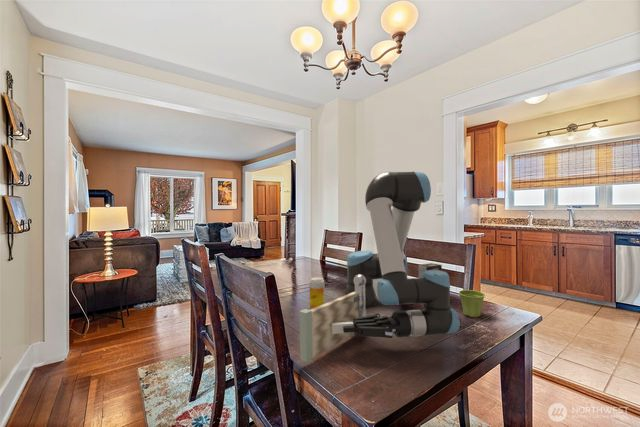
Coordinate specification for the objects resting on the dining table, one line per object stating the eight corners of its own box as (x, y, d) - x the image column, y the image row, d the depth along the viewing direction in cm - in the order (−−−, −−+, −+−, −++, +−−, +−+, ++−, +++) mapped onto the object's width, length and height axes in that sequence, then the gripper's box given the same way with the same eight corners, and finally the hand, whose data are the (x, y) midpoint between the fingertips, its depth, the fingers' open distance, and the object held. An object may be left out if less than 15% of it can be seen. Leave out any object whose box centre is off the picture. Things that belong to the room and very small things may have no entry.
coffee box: (428, 301, 131) (428, 266, 130) (418, 298, 137) (417, 264, 136) (442, 298, 135) (442, 264, 135) (431, 295, 141) (431, 262, 140)
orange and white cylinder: (309, 312, 120) (309, 277, 120) (324, 311, 121) (323, 276, 121) (310, 318, 114) (309, 280, 114) (325, 317, 115) (324, 280, 114)
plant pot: (489, 319, 109) (489, 297, 109) (462, 318, 111) (462, 296, 111) (480, 311, 118) (480, 290, 118) (456, 309, 120) (456, 289, 120)
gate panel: (354, 328, 99) (353, 289, 99) (360, 330, 98) (359, 290, 97) (300, 359, 79) (299, 311, 79) (306, 362, 78) (305, 313, 77)
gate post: (352, 330, 102) (351, 273, 102) (365, 329, 102) (364, 272, 102) (355, 336, 97) (354, 276, 97) (368, 335, 98) (368, 275, 97)
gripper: (416, 345, 82) (335, 351, 79) (399, 326, 95) (328, 331, 92) (416, 319, 81) (335, 324, 79) (399, 304, 94) (328, 308, 92)
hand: (331, 328), depth 85 cm, fingers closed
